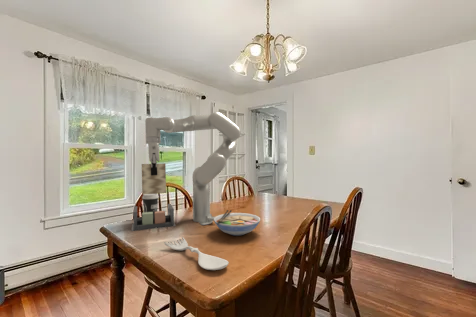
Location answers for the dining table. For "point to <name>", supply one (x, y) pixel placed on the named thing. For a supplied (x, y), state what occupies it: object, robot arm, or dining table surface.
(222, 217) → the ramen bowl
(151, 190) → the birch sheet
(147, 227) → the offcut rack
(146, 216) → the sage offcut
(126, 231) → the dining table surface
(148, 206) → the coffee cup
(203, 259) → the white spork utensil
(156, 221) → the terracotta offcut
